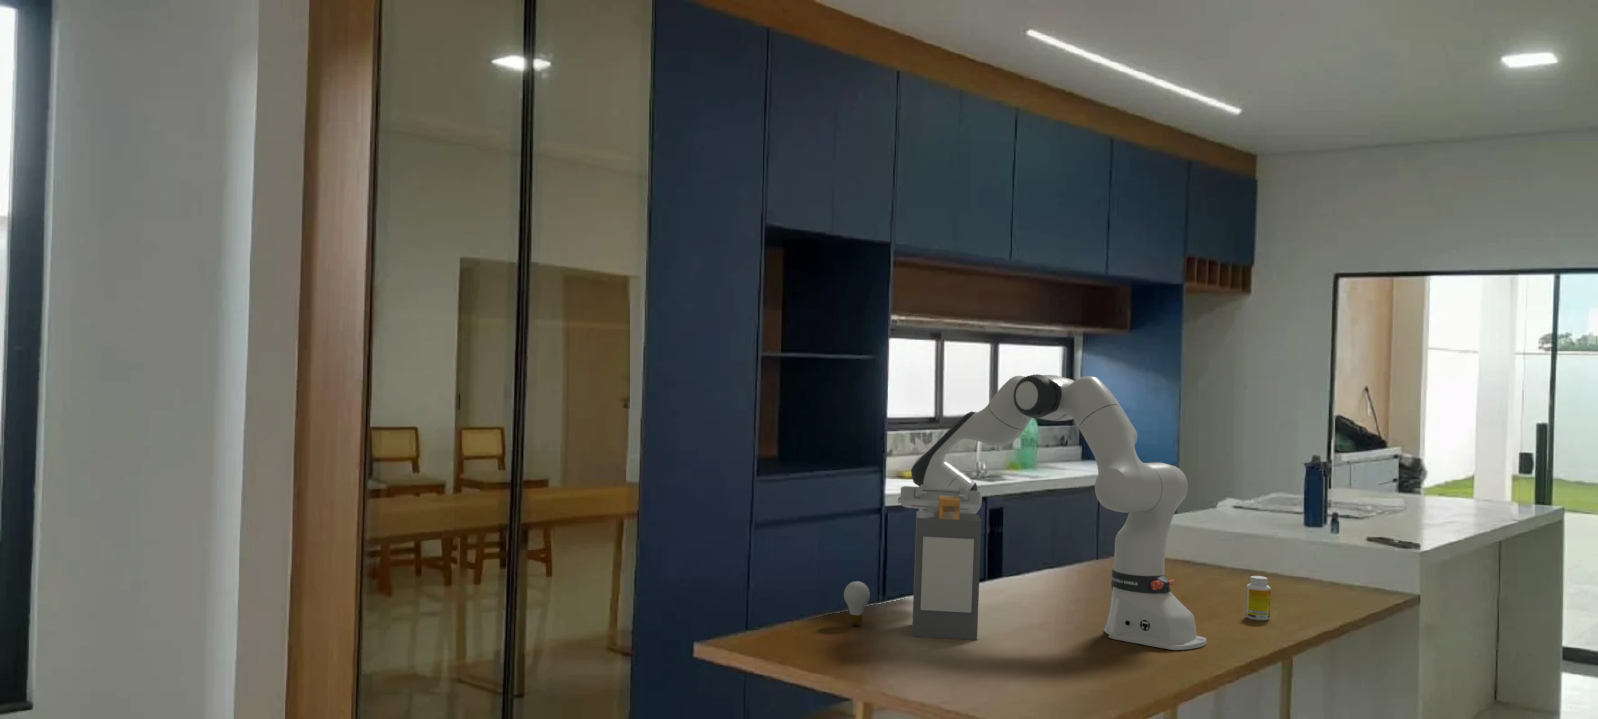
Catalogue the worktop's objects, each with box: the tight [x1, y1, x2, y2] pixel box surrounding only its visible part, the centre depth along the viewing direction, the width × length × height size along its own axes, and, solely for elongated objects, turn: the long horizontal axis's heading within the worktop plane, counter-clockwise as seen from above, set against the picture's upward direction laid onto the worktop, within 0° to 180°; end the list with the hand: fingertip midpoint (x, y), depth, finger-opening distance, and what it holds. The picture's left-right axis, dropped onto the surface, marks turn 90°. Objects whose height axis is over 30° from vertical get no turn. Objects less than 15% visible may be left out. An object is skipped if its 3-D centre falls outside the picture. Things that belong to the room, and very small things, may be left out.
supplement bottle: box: [1245, 575, 1272, 622], centre depth 296 cm, size 6×6×10 cm
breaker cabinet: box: [911, 510, 982, 641], centre depth 268 cm, size 13×14×26 cm
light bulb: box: [843, 580, 871, 627], centre depth 272 cm, size 6×6×10 cm
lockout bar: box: [938, 495, 960, 520], centre depth 274 cm, size 22×4×4 cm, turn 175°
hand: (943, 489), depth 293 cm, fingers open, 8 cm apart
